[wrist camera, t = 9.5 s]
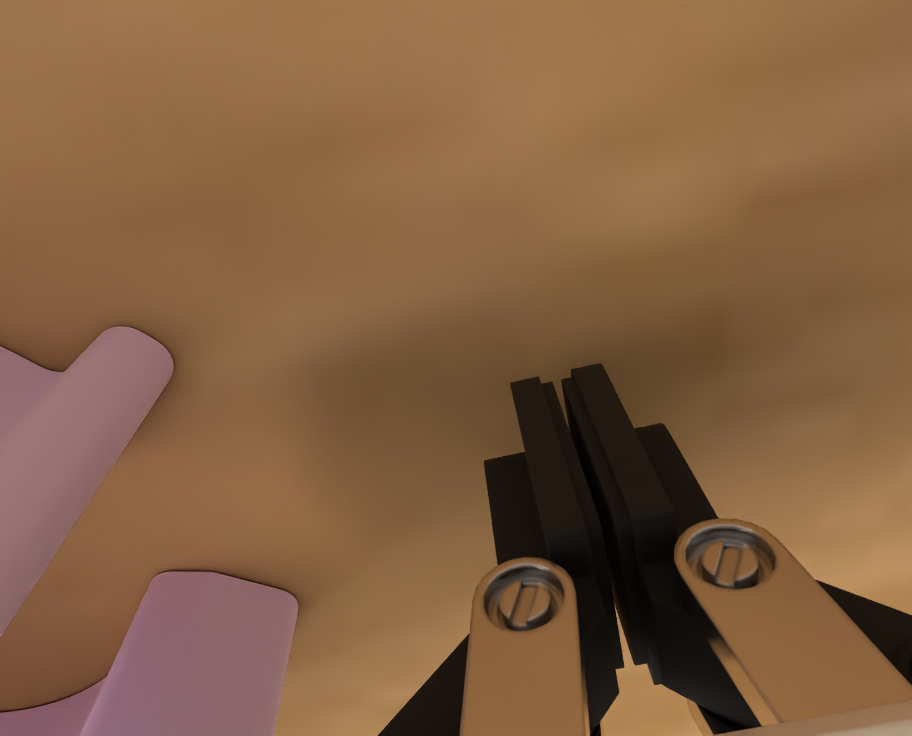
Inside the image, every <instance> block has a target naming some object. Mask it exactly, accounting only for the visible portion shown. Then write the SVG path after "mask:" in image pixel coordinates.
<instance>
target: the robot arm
mask: <svg viewBox="0 0 912 736" xmlns="http://www.w3.org/2000/svg"><path fill="white" fill-rule="evenodd" d="M561 383H562V390H563V395H564V401H565V407H566V413H567V418H568V424H569V429H568V426H567V423H566V420H565V417H564V414H563V411H562V408H561V405H560V402H559V399H558V396H557V394H556V391H555V388H554V385H553V382H548V383H543V384H541V381H540V378H539V377H534V378H529V379H525V380H520V381H516V382H511V383H510V385H511V390H512V394H513V399H514V403H515V408H516V413H517V417H518V422H519V426H520V431H521V435H522V440H523V444H524V449H525V452H522V453H517V454H512V455H508V456H503V457H498V458H493V459H489V460H484V467H485V474H486V482H487V489H488V497H489V504H490V511H491V519H492V526H493V534H494V541H495V549H496V556H497V563H498V566H496V567H495V568H493V569H492V570H491V571H490V572H488V573H487V574H486V575H485V576H484V577H483V578H482V580H481V581H480V583H479V584H478V586H477V587H476V590H475V594H474V597H473V602H472V612H471V622H470V633H469V634H468V635H467V636H466V638H465V639H464V640H463V641H462V642H461V643H460V644H459V645H458V646H457V648H456V649H455V650H454V651H453V652H452V653H451V654H450V655H449V657H448V658H447V659H446V660H445V661H444V662H443V663H442V664H441V665H440V667H439V668H438V669H437V670H436V671H435V672H434V673H433V674H432V676H431V677H430V678H429V679H428V680H427V681H426V682H425V683H424V684H423V686H422V687H421V688H420V689H419V690H418V691H417V692H416V693H415V695H414V696H413V697H412V698H411V699H410V700H409V701H408V702H407V703H406V705H405V706H404V707H403V708H402V709H401V710H400V711H399V712H398V714H397V715H396V716H395V717H394V718H393V719H392V720H391V721H390V722H389V724H388V725H387V726H386V727H385V728H384V729H383V730H382V731H381V733H380V734H379V735H378V736H604V732H603V727H602V722H601V720H602V718H603V717H604V715H605V714H606V712H607V711H608V709H609V708H610V706H611V705H612V703H613V702H614V700H615V699H616V697H617V696H618V694H619V688H618V682H617V676H616V670H615V669H619V668H624V661H623V655H622V649H621V643H620V636H619V630H618V624H617V618H616V611H615V606H616V610H617V613H618V616H619V619H620V622H621V625H622V628H623V631H624V635H625V638H626V641H627V644H628V647H629V650H630V653H631V657H632V659H633V662H634V664H635V666H636V665H641V664H646V663H647V665H648V668H649V671H650V674H651V676H652V679H653V682H654V685H658V684H662V685H664V686H665V687H667V688H669V689H671V690H673V691H675V692H676V693H678V694H680V695H682V696H684V697H686V698H687V704H688V706H689V709H690V712H691V714H692V717H693V719H694V720H695V722H696V724H697V726H698V728H699V729H700V731H701V733H702V735H703V736H912V615H909V614H907V613H904V612H901V611H899V610H896V609H893V608H891V607H888V606H885V605H882V604H880V603H877V602H874V601H872V600H869V599H866V598H864V597H861V596H858V595H855V594H853V593H850V592H847V591H845V590H842V589H839V588H837V587H834V586H831V585H828V584H826V583H823V582H820V581H818V580H815V579H814V578H813V577H812V576H811V575H810V574H809V573H808V571H807V570H806V569H805V568H804V567H803V566H802V565H801V564H800V563H799V562H798V561H797V559H796V558H795V557H794V556H793V555H792V554H791V553H790V552H789V551H788V550H787V548H786V547H785V546H784V545H783V544H782V543H781V542H780V541H779V540H778V539H777V538H776V537H775V536H773V535H772V534H771V533H770V532H768V531H767V530H766V529H763V528H761V527H759V526H757V525H755V524H753V523H750V522H746V521H742V520H737V519H719V518H718V517H717V515H716V513H715V511H714V510H713V508H712V506H711V504H710V503H709V501H708V499H707V497H706V496H705V494H704V492H703V491H702V489H701V487H700V485H699V484H698V482H697V480H696V478H695V477H694V475H693V473H692V471H691V470H690V468H689V466H688V464H687V463H686V461H685V459H684V457H683V456H682V454H681V452H680V450H679V449H678V447H677V445H676V443H675V442H674V440H673V438H672V436H671V435H670V433H669V431H668V429H667V428H666V427H665V425H664V424H662V423H659V424H654V425H649V426H645V427H640V428H635V429H634V428H633V426H632V423H631V421H630V419H629V417H628V415H627V413H626V411H625V409H624V407H623V405H622V403H621V401H620V399H619V397H618V395H617V393H616V391H615V389H614V387H613V385H612V383H611V381H610V379H609V377H608V375H607V373H606V371H605V369H604V367H603V365H602V364H601V363H598V364H593V365H589V366H584V367H580V368H575V369H571V378H566V379H562V380H561ZM569 430H570V431H569ZM614 603H615V605H614Z"/></svg>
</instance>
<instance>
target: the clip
mask: <svg viewBox="0 0 912 736" xmlns="http://www.w3.org/2000/svg"><path fill="white" fill-rule="evenodd" d="M173 370H174V364H173V360H172V357H171V355H170V353H169V352H168V350H167V349H166V348H165V347H164V346H163V345H162V344H160V343H159V342H158V341H156V340H154V339H153V338H151V337H149V336H148V335H146V334H144V333H142V332H140V331H138V330H136V329H134V328H130V327H123V326H118V327H112V328H109V329H107V330H105V331H104V332H102V333H101V334H100V335H99V336H98V337H97V338H96V339H95V340H94V341H93V342H92V343H91V344H90V346H89V347H88V348H87V349H86V350H85V351H84V352H83V353H82V354H81V355H80V356H79V357H78V358H77V359H76V360H75V361H74V362H73V363H72V364H71V365H70V366H69V367H68V369H67V370H66V371H65V372H55V371H50V370H47V369H44V368H42V367H40V366H38V365H36V364H34V363H32V362H30V361H29V360H27V359H25V358H23V357H21V356H19V355H17V354H15V353H13V352H11V351H9V350H7V349H5V348H3V347H1V346H0V638H1V636H2V635H3V633H4V632H5V630H6V629H7V627H8V625H9V624H10V622H11V621H12V619H13V618H14V616H15V615H16V613H17V612H18V610H19V609H20V607H21V606H22V604H23V603H24V601H25V600H26V598H27V596H28V595H29V593H30V592H31V590H32V589H33V587H34V586H35V584H36V583H37V581H38V580H39V578H40V577H41V575H42V574H43V572H44V571H45V569H46V568H47V566H48V564H49V563H50V561H51V560H52V558H53V557H54V555H55V554H56V552H57V551H58V549H59V548H60V546H61V545H62V543H63V542H64V540H65V539H66V537H67V536H68V534H69V532H70V531H71V529H72V528H73V526H74V525H75V523H76V522H77V520H78V519H79V517H80V516H81V514H82V513H83V511H84V510H85V508H86V507H87V505H88V504H89V502H90V500H91V499H92V497H93V496H94V494H95V493H96V491H97V490H98V488H99V487H100V485H101V484H102V482H103V481H104V479H105V478H106V476H107V475H108V473H109V472H110V470H111V468H112V467H113V465H114V464H115V462H116V461H117V459H118V458H119V456H120V455H121V453H122V452H123V450H124V449H125V447H126V446H127V444H128V443H129V441H130V439H131V438H132V436H133V435H134V433H135V432H136V430H137V429H138V427H139V426H140V424H141V423H142V421H143V420H144V418H145V417H146V415H147V414H148V412H149V411H150V409H151V407H152V406H153V404H154V403H155V401H156V400H157V398H158V397H159V395H160V394H161V392H162V391H163V389H164V388H165V386H166V385H167V383H168V382H169V380H170V378H171V376H172V374H173ZM298 609H299V607H298V602H297V600H296V599H295V597H294V596H292V595H291V594H290V593H288V592H286V591H283V590H280V589H276V588H273V587H269V586H265V585H261V584H257V583H253V582H249V581H246V580H242V579H238V578H234V577H230V576H226V575H223V574H219V573H214V572H164V573H161V574H158V575H156V576H155V577H154V578H153V579H152V580H151V582H150V584H149V586H148V588H147V591H146V593H145V595H144V597H143V599H142V601H141V604H140V606H139V608H138V610H137V612H136V614H135V617H134V619H133V621H132V623H131V625H130V628H129V630H128V632H127V634H126V636H125V638H124V641H123V643H122V645H121V647H120V649H119V651H118V654H117V656H116V658H115V660H114V662H113V664H112V667H111V669H110V671H109V673H108V675H107V677H105V678H104V679H103V680H101V681H99V682H98V683H96V684H95V685H93V686H92V687H90V688H88V689H86V690H84V691H82V692H80V693H78V694H76V695H73V696H71V697H69V698H66V699H63V700H60V701H58V702H54V703H51V704H47V705H44V706H40V707H35V708H31V709H26V710H20V711H13V712H4V713H0V736H274V732H275V727H276V722H277V716H278V711H279V706H280V701H281V696H282V691H283V686H284V681H285V675H286V670H287V665H288V660H289V655H290V650H291V645H292V639H293V634H294V629H295V624H296V619H297V614H298Z"/></svg>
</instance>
